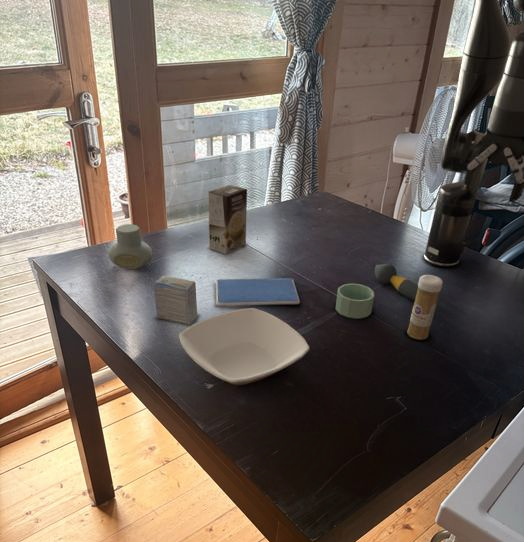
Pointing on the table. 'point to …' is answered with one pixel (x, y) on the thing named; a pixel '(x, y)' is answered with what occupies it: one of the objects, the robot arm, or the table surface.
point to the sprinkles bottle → (424, 306)
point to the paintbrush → (396, 280)
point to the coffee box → (227, 218)
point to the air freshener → (130, 248)
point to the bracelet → (354, 300)
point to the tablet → (256, 292)
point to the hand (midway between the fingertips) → (490, 194)
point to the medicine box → (175, 299)
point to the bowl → (243, 345)
